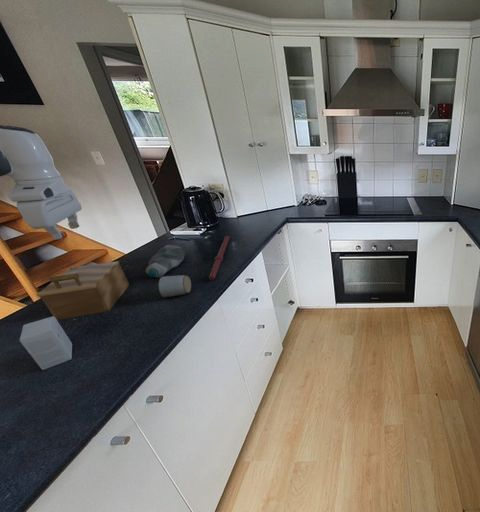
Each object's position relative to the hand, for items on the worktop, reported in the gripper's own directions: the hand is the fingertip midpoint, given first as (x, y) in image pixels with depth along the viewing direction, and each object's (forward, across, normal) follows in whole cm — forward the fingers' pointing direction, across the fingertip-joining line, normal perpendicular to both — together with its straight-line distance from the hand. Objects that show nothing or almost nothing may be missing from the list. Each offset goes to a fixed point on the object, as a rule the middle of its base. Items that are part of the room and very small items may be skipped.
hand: (67, 232), depth 84 cm
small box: (+27, +25, -2) cm, 37 cm away
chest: (+27, -4, -4) cm, 28 cm away
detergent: (+27, -23, +13) cm, 38 cm away
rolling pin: (+27, -25, +35) cm, 51 cm away
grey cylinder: (+27, +1, +22) cm, 35 cm away
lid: (+17, -3, -4) cm, 18 cm away
